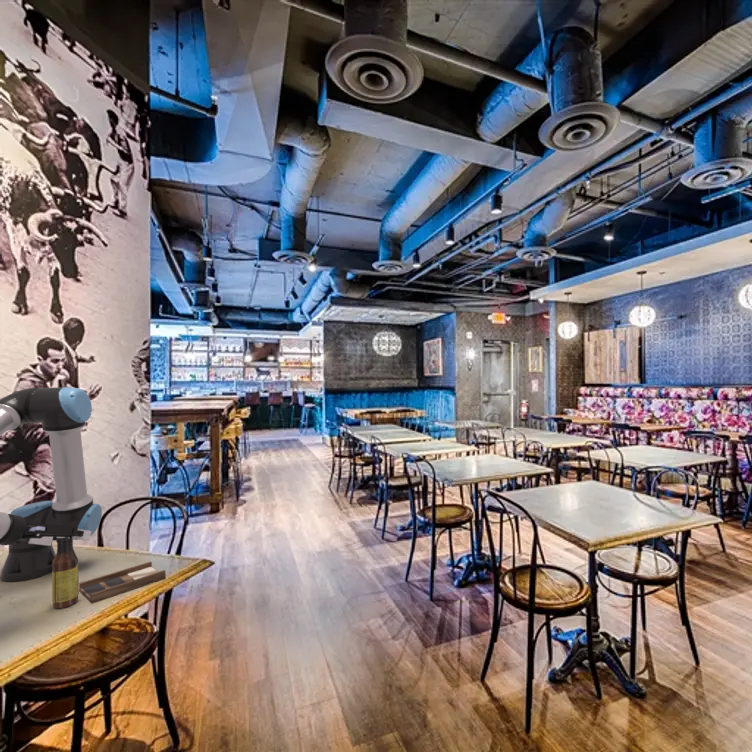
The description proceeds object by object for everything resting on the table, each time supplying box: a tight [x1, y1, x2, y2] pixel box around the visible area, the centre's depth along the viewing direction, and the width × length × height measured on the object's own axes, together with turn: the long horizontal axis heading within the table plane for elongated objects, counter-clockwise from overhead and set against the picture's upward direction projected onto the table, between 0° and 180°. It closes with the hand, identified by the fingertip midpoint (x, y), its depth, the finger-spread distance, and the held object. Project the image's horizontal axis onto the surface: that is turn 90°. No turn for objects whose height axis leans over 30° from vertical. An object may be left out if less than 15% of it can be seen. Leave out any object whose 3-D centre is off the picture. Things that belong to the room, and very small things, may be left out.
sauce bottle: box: [51, 537, 80, 609], centre depth 122 cm, size 7×6×20 cm
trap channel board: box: [79, 561, 166, 604], centre depth 133 cm, size 12×21×2 cm, turn 140°
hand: (70, 538), depth 125 cm, fingers open, 13 cm apart
